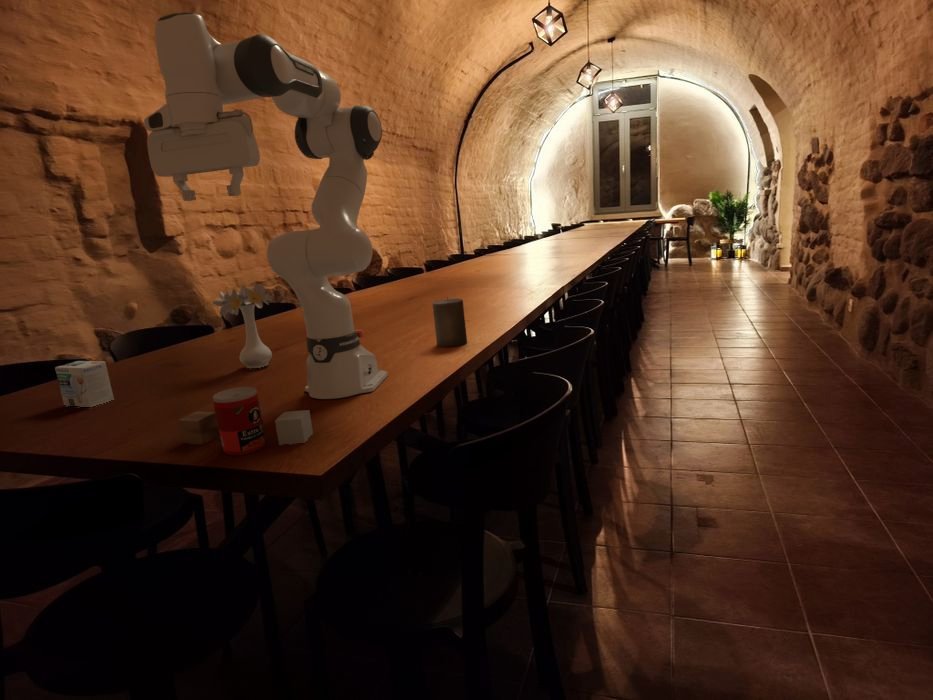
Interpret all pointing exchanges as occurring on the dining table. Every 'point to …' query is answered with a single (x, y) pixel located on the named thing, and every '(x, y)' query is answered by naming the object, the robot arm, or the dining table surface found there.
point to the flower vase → (248, 322)
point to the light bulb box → (84, 383)
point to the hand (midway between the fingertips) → (212, 198)
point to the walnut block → (199, 427)
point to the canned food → (239, 420)
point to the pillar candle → (449, 322)
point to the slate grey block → (294, 427)
